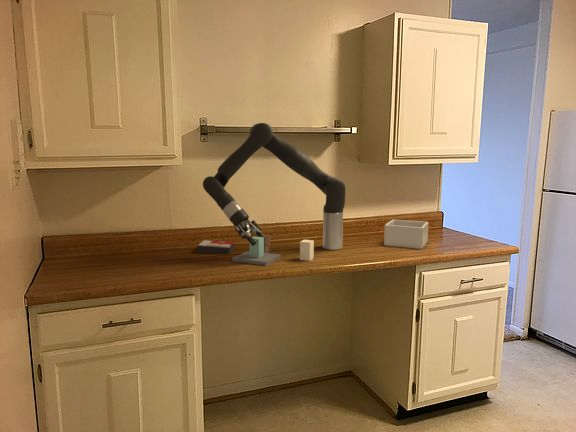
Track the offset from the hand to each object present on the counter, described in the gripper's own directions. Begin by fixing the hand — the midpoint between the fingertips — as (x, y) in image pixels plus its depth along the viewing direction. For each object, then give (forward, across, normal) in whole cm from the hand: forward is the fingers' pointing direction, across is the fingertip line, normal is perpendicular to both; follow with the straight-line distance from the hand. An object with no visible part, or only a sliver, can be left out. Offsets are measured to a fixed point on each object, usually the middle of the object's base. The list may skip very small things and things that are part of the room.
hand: (259, 242), depth 200 cm
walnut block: (+2, +12, +8) cm, 15 cm away
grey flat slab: (+4, 0, +6) cm, 8 cm away
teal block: (+3, 0, +5) cm, 6 cm away
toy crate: (+41, +60, -30) cm, 79 cm away
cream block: (+18, +10, -7) cm, 22 cm away
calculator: (-13, +7, +24) cm, 28 cm away
